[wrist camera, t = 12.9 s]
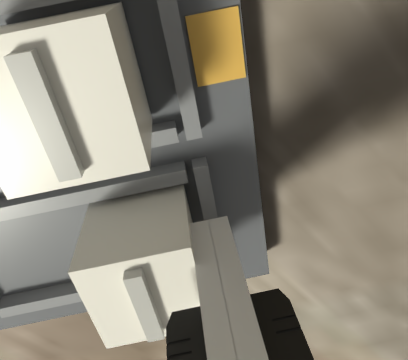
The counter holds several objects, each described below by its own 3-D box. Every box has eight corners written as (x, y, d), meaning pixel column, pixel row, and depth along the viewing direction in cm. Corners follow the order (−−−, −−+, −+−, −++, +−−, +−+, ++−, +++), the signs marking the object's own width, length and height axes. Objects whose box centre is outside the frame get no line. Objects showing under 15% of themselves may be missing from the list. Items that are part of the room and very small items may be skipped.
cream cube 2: (88, 203, 15) (64, 282, 11) (183, 184, 15) (192, 255, 11) (117, 272, 17) (105, 358, 13) (200, 254, 17) (212, 336, 13)
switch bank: (-270, -14, 11) (-360, -10, 9) (219, -110, 12) (231, -128, 10) (-23, 313, 20) (-44, 351, 18) (261, 254, 20) (273, 285, 18)
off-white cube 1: (-4, 26, 11) (-87, 52, 7) (121, 1, 11) (102, 15, 7) (46, 140, 13) (1, 207, 9) (152, 119, 13) (149, 177, 9)
